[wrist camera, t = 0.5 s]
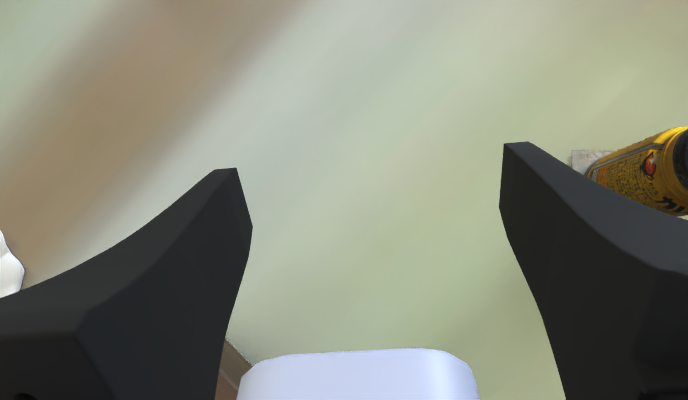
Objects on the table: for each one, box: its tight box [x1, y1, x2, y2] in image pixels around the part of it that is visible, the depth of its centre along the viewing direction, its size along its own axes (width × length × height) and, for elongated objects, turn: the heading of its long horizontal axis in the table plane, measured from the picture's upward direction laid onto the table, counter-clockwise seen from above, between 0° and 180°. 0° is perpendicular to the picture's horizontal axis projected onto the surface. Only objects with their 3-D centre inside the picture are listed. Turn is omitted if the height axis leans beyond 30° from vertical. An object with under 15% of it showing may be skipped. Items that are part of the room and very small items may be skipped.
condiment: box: [572, 127, 688, 216], centre depth 36 cm, size 7×8×12 cm
